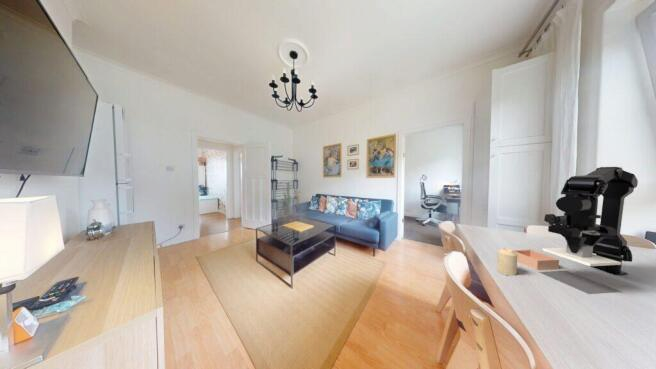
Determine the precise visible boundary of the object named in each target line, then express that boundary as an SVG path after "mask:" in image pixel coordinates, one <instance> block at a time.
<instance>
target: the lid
mask: <svg viewBox="0 0 656 369" xmlns="http://www.w3.org/2000/svg"><path fill="white" fill-rule="evenodd" d="M542 251H544V252H546V253H549V254H552V255H554V256H558V257H561V258H564V259H568V260H570V261H573V262H576V263H579V264H582V265H585V266H588V267H590V266H604V265H621V262H618V261H615V260H611V259H608V258H604V257H601V256H597V255H596V254H594V253H593V246H590V245H586V244H582V246H581V247H580V249H579V250H578V252H577V253H572V252H571V250H570V248H569V246H568V243H567V242H566V247H544V248H542Z"/></svg>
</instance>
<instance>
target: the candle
mask: <svg viewBox="0 0 656 369" xmlns="http://www.w3.org/2000/svg"><path fill="white" fill-rule="evenodd" d="M512 250H513V249H510V248H508V247H502V248H500V249H498V250H497V263H496V265H497V266H496V270H497V272H498V273H500V274H501V275H504V276H507V277H510V276H516V275H517V271H518V270H517V268H518V262H517V256H518V255H517V254H516V253H515V252H513V251H512Z"/></svg>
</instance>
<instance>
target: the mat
mask: <svg viewBox="0 0 656 369" xmlns="http://www.w3.org/2000/svg"><path fill="white" fill-rule="evenodd" d="M538 273H540V274H541V275H544V276H545V277H548V278H551V279H553V280H555V281H558V282H560V283H562V284H565V285H566V286H569V287H572V288H574V289H577V290H578V291H581V292H584V293H585V294H588V295H596V294H598V295H599V294H612V293H622V292H623V291H622V290H619V289H616V288H613V287H611V286H608V285H606V284H603V283H601V282H598V281H595V280H594V279H593V280H592V279H590V278H587V277H584V276H583V275H582V276H581V275H579V274H577V273H574V272H571V271H570V270H550V271H538Z"/></svg>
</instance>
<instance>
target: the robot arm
mask: <svg viewBox="0 0 656 369" xmlns="http://www.w3.org/2000/svg"><path fill="white" fill-rule="evenodd" d="M638 183H639V180H638V178H637V177H636V175H635V174H634V173H632V172H629V171H626V170H624V169H623V167H620V166H600V167H597V168H596V169H595V170H593V171H591V172H589V173H587V174H584V175H573V176H570V177H569V178H568V179H566V180H565V182H564V185H563V187H562V189H561V191H560V194H561V195H565V196H561V197H559V198H558V199H557V200H556V201H555V205H556V208H557V209H558V210H559V211H561V212H564V213H563V215H555V214H554V213H549V214H544V219H543V221H544V222H546V223H548V227H547V232H549V233H552V234H558V235H561V236H562V237H563V238H564V239H565V242H566V244H567V243H568V246H569V248H570V250H571V252H572V253H577V252H578V250H579V249H580V247H581V246H582V244H586V245H590V246H593V253H592V254H594V255H597V256H601V257H604V258H608V259H611V260H615V261H618V262H621V265H604V266H589V267H591V268H593V269H596V270H598V271H601V272H606V273H608V274H611V275H614V276H619V275H620V276H621V275H623V276H624V275H628V272H626V271H622V267H623V265H622V264H623V262H630V263H632V262H633V253H632V251H631V250H630V247H629V246H628V242H627V240H626V238H624V237H623V235H622V234H621V231H622V230H621V229H622V228H621V227H622V221H623V211H624V205H625V198H626V197H628V196H630V195H631V194H633V193H634V191H635V189H636V188H637V187H638ZM601 196H602V197H603V198H602V206H601V212H600V213H601V214H598V206H599V197H601ZM597 219H600V221H599V222H600V224H597Z"/></svg>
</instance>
